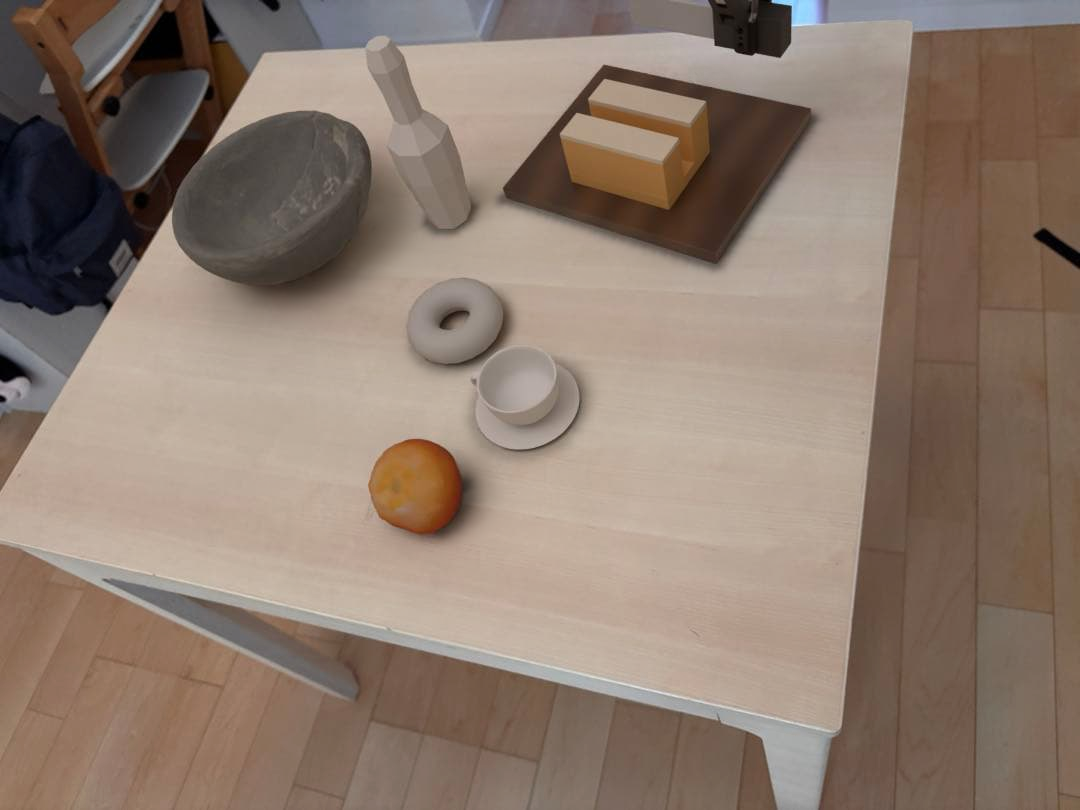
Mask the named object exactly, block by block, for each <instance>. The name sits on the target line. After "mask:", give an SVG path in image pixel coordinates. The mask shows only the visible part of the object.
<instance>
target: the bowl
mask: <svg viewBox="0 0 1080 810" xmlns="http://www.w3.org/2000/svg"><path fill="white" fill-rule="evenodd" d="M365 137H366V136H364V134H363V132H362V131H361V130H360V129H359V128H358V127H357V126H356V125H355V124H353V123H352V122H349V121H347V120H343V119H341V118H338V117H336V116H335V115H333V114H331V113H328V112H323V111H318V110H295V111H294V110H293V111H286V112H281V113H279V114H278V113H277V114H273V115H270V116H266V117H263V118H261V119H258V120H256V121H254V122H251V123H249V124H247V125H245V126H243V127H241V128H239V129H237V130H236V131H233V132H232V133H231V134H229V135H228V136H225V137H224V138H223V139H222V140H221V141H219V142H218V143H216V144H215V145H213V146H212V147H211V148H210V149H209V150H208V151H207V152H206V153H205V154H204V155H202V156H201V157H200V158H199V160H197V162H196V163H194V165H193V166H192V167H191V169H190V170H189V172H188V173H187V174H186V175H185V176H184V177H183V179H182V181H181V183H180V185H179V187H178V189H177V191H176V193H175V196H174V199H173V203H172V209H171V210H172V211H171V212H172V213H171V225H172V231H173V235H174V238H175V240H176V243H177V245H178V246H179V249H181V251H183V253H184V254H185V255H186V256H187V257H188V258H189V259H190V260H191V261H192V262H193V263H195V265H197V266H198V267H200V268H201V269H202V270H205V271H206V272H208V273H210V274H211V275H214V276H216V277H218V278H221V279H224V280H225V281H229V282H232V283H233V282H234V283H238V284H243V285H250V286H276V285H280V284H283V283H287V282H290V281H293V280H296V279H299V278H302V277H305V276H306V275H309V274H310V273H313V272H315V271H316V270H318V269H320V268H321V267H323V266H324V265H325V264H327V263H328V262H329V261H331V260H332V259H333V258H335V257H336V256H337V255H338V254H339V253H340V252H341V251H342V250H343V249H344V248H345V246H347V245H348V243H349V242H350V241H351V239H352V238H353V237H354V235H355V233H356V232H357V230H358V229H359V227H360V225H361V223H362V219H363V218H364V214H365V211H366V209H367V204H368V201H369V195H370V191H371V187H372V175H373V173H372V171H373V169H372V168H373V167H372V165H373V164H372V163H373V162H372V155H371V150H370V147H369V144H368V141H367V139H366V138H365Z"/></svg>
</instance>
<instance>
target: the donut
mask: <svg viewBox="0 0 1080 810" xmlns="http://www.w3.org/2000/svg"><path fill="white" fill-rule="evenodd" d="M461 311H462V312H463V311H464V312H467V313H469V317H468V319H466V321H465V322H464V323H463V324H461V325H460V326H458V327H456V328H452V329H443V328H441V324H442V322H443V320H444V319H445V318H446V317H448V316H449V315H450V314H453V313H455V312H461ZM503 320H504V308H503V305H502V301H501V298H500V297H499V296H498V294H497V293H496V291H495V290H494V289H493V288H492V287H491V286H490V285H488V284H487V283H484V282H482V281H481V280H478V279H475V278H469V277H455V278H449V279H446V280H443V281H440V282H437V283H435V284H434V285H432V286H430V287H429V288H427V289H425V290H424V291H423V292H422V293H421V294H420V296H418V297H417V298H416V300H415V301H414V302H413V304H412V305H411V308H410V309H409V310H408V315H407V320H406V328H405V329H406V333H407V337H408V342H409V343H410V345H411V346H412V348H413V349H414V351H415V352H416V353H418V354H419V355H420V356H422V357H423V358H424V359H426V360H427V361H430V362H434V363H439V364H443V365H447V364H459V363H462V362H463V363H464V362H465V361H469V360H472V359H474V358H476V357H477V356H480V355H481V354H483V352H485V351H487V349H489V347H490V346H491V345H492V344H493V343H494V342H495V341H496V339H497V337H498V335H499V334H500V331H501V330H502V326H503Z"/></svg>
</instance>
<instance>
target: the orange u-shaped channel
mask: <svg viewBox="0 0 1080 810" xmlns="http://www.w3.org/2000/svg"><path fill="white" fill-rule="evenodd" d="M588 101H589V107H590V111H591V116H588V115H584V114H580V113H576V114H575V116H574V117H573V118H572V119H571V121H570V122H569V123H568V124H567V125H566V127H565V128H564V129H563V130H562V132H561V133H560V137H561V141H562V145H563V149H564V153H565V157H566V161H567V165H568V169H569V173H570V177H571V181H572V182H574V183H578V184H581V185H585V186H588V187H592V188H595V189H598V190H602V191H605V192H609V193H612V194H616V195H619V196H623V197H626V198H629V199H633V200H636V201H640V202H643V203H647V204H650V205H654V206H657V207H660V208H664V209H667V210H670V208H671V207H672V205H673V204H674V202H675V201H676V200H677V198H678V197H679V195H680V194H681V193H682V191H683V190H684V188H685V187H686V185H687V184H688V183H689V181H690V180H691V178H692V177H693V176H694V174H695V173H696V171H697V170H698V169H699V167H700V166H701V164H702V163H703V161H704V160H705V159H706V157H707V156H708V154H709V153H710V145H709V131H708V118H707V106H706V101H703V100H698V99H694V98H689V97H685V96H680V95H676V94H671V93H666V92H662V91H657V90H653V89H648V88H644V87H639V86H635V85H630V84H626V83H621V82H617V81H612V80H608V79H604V80H603V81H602V82H601V84H600V85H599V86H598V87H597V88H596V90H595V91H594V92H593V93H592V95H591V96H590V97H589V98H588Z"/></svg>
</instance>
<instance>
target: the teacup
mask: <svg viewBox="0 0 1080 810" xmlns="http://www.w3.org/2000/svg"><path fill="white" fill-rule="evenodd" d="M469 380H470V383H471V384H472V385H473V387H475V388H476V391H477V398H476V402H475V408H474V409H475V412H474V414H475V420H476V424H477V426H478V428H479V430H480V432H481V433H482V434H483V436H484V437H485V438H486V439H488V440H489V441H490V442H492V443H493V444H494V445H497V446H499V447H501V448H504V449H505V448H506V449H509V450H530V449H535V448H538V447H541V446H544V445H547V444H548V443H550V442H552V441H554V440H555V439H557V438H558V437H560V435H562V434H563V433H564V432H565V431H566V430H567V429H568V428H569V426H570V425H571V424H572V423H573V421H574V420H575V418H576V415H577V413H578V411H579V405H580V389H579V385H578V382H577V380H576V379H575V377H574V376H573V374H572V373H571V372H570V371H569V370H568V369H567V368H565V367H564V366H562V365H560V363H557V362H555V360H554V358H553V357H552V355H550V353H549V352H547V351H546V350H545V349H544V348H542V347H539V346H536V345H532V344H525V343H524V344H514V345H509V346H507V347H504V348H502V349H500V350H498V351H496V352H495V353H493V354H492V355H491V356H490V357H489V358H488V359H486V360H485V362H484V363H483V365H482V366H481V368H480V370H474V371H473V372H471V375H470V377H469Z"/></svg>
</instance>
